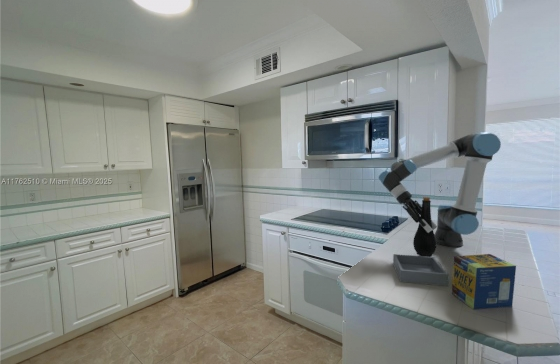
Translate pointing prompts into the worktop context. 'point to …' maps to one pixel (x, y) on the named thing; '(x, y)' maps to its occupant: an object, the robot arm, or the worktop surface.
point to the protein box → (483, 281)
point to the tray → (420, 270)
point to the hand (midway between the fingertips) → (432, 229)
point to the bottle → (425, 233)
